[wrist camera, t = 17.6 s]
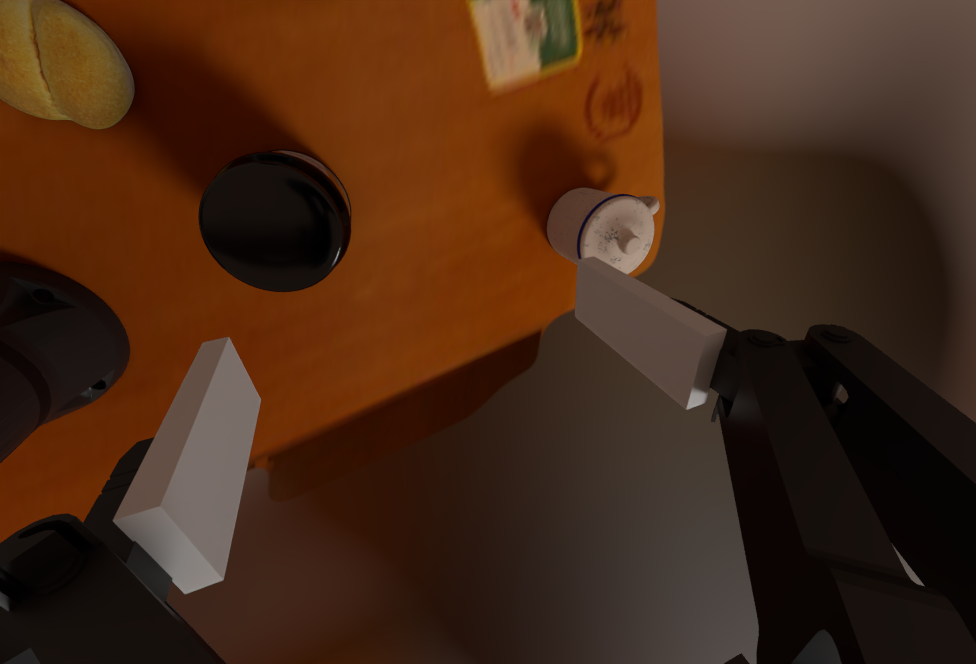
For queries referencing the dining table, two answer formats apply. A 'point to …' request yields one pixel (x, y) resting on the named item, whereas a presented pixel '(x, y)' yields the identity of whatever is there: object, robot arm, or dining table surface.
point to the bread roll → (61, 65)
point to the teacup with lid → (603, 227)
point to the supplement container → (276, 220)
